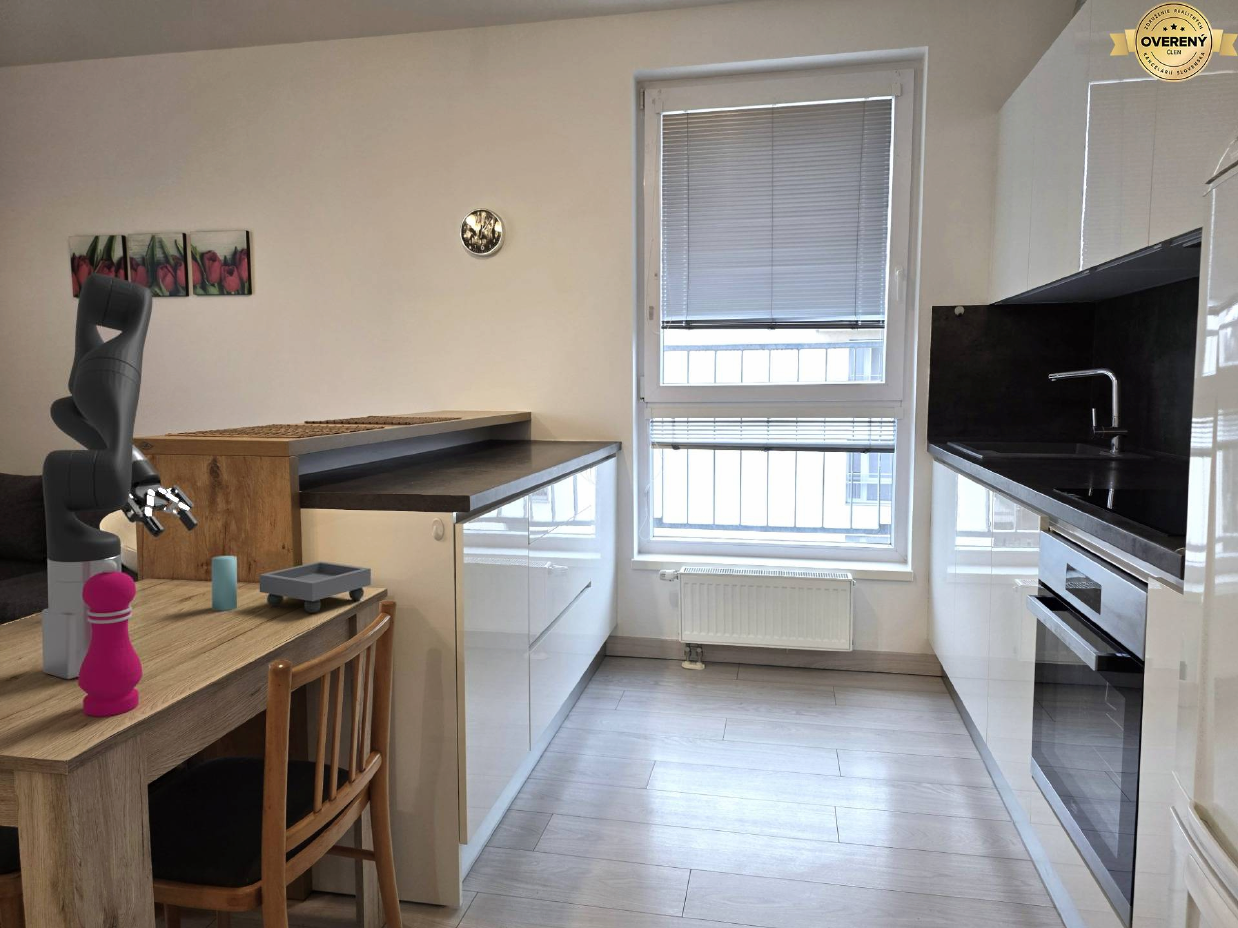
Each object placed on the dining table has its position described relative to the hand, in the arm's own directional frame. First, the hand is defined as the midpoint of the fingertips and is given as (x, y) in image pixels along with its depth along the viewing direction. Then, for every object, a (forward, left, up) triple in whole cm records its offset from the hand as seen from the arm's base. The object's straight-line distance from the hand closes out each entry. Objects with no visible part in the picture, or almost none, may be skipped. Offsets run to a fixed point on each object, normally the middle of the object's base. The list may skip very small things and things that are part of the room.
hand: (177, 531), depth 158 cm
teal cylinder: (+2, -11, -15) cm, 18 cm away
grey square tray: (+14, -23, -15) cm, 30 cm away
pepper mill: (-40, -41, -15) cm, 59 cm away
